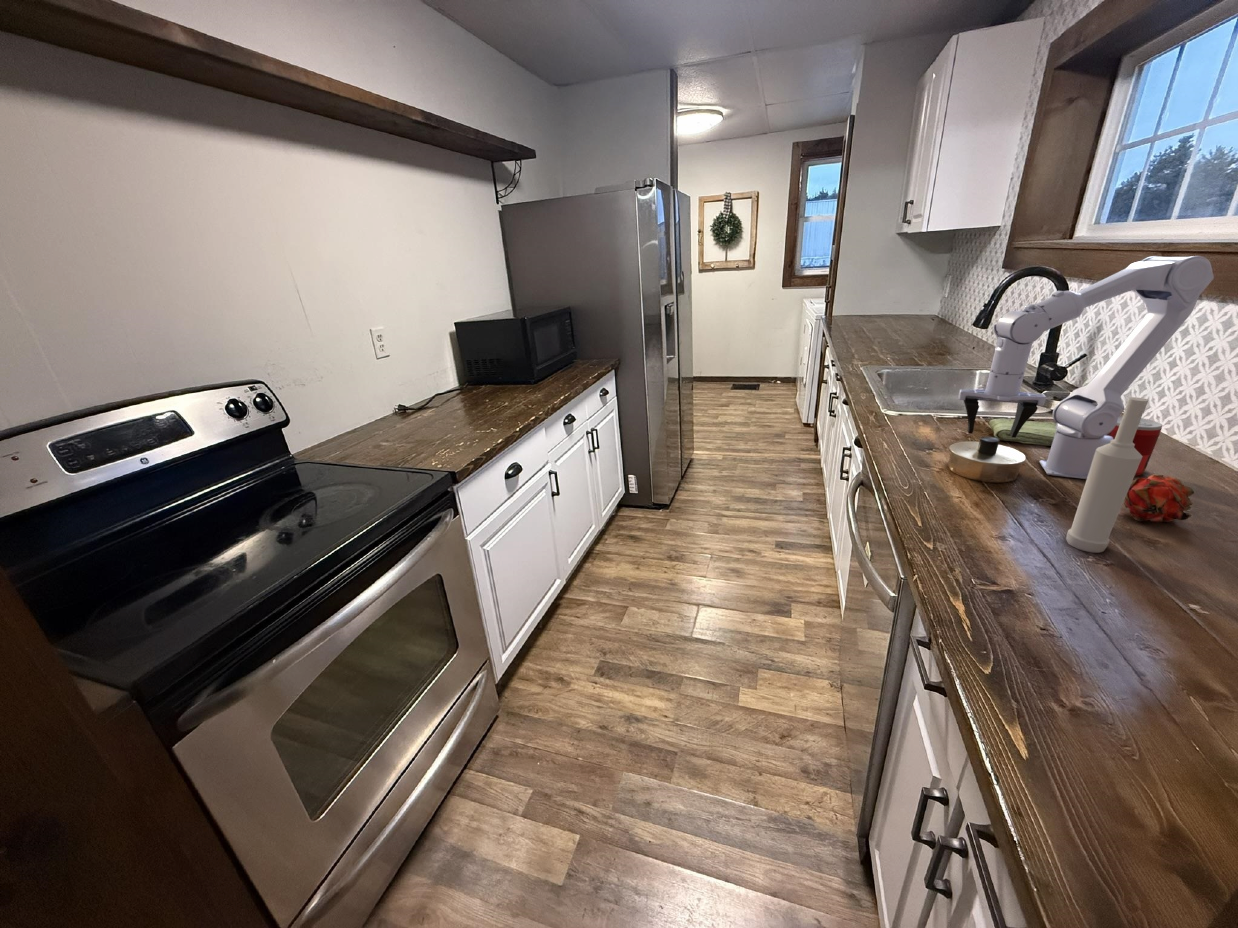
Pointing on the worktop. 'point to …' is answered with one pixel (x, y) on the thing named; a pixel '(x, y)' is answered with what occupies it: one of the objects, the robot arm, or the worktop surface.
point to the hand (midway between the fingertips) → (991, 434)
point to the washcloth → (1025, 431)
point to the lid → (987, 452)
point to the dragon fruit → (1158, 499)
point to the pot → (983, 471)
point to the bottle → (1107, 484)
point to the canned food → (1142, 440)
